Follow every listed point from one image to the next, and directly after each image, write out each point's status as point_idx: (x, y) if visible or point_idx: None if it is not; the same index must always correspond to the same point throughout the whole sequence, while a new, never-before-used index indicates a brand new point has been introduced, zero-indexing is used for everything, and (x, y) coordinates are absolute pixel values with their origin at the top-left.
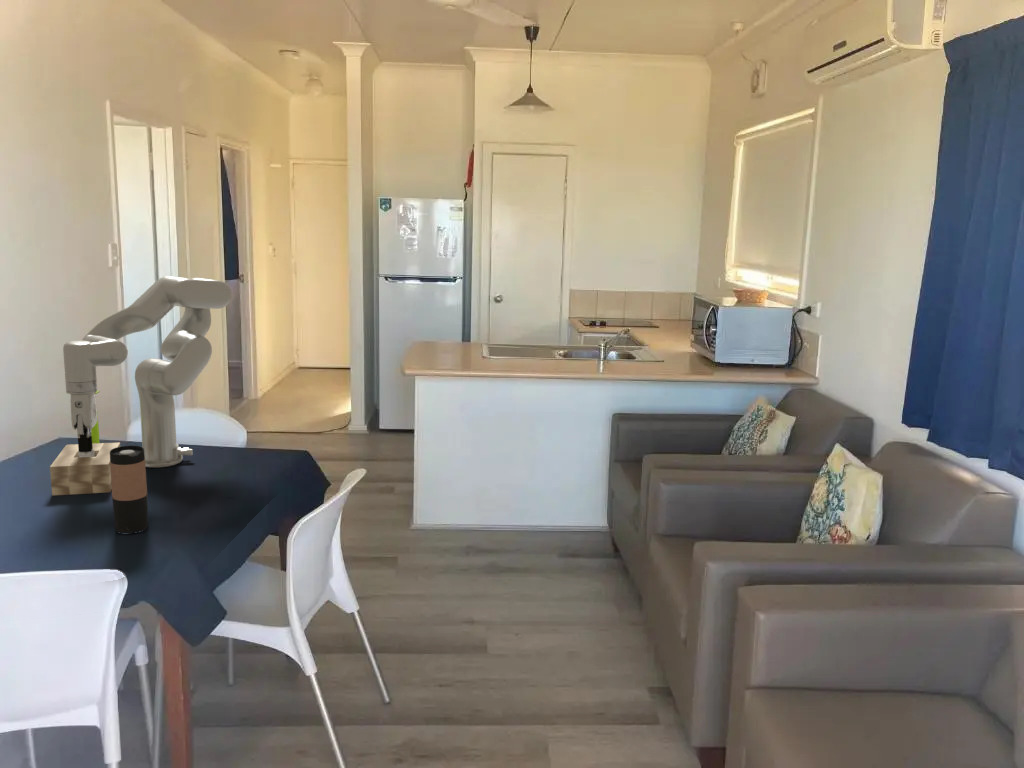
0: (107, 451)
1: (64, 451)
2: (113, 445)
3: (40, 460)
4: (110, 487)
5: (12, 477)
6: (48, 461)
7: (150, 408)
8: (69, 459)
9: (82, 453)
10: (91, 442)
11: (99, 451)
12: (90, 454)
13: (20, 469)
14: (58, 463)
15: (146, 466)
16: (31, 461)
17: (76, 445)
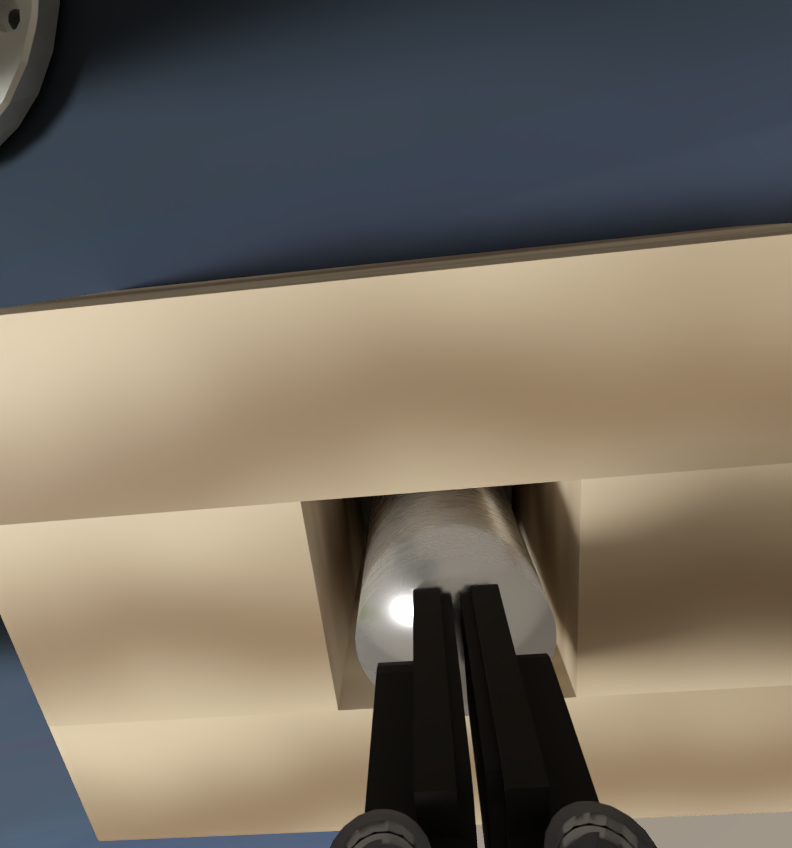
0: (343, 392)
1: (335, 809)
2: (45, 383)
3: (25, 803)
4: (725, 228)
5: (327, 841)
6: (35, 767)
7: None
8: (640, 714)
9: (550, 652)
10: (443, 676)
11: (340, 493)
12: (520, 560)
13: (193, 843)
14: (766, 770)
15: (51, 42)
16: (51, 833)
17: (114, 764)
